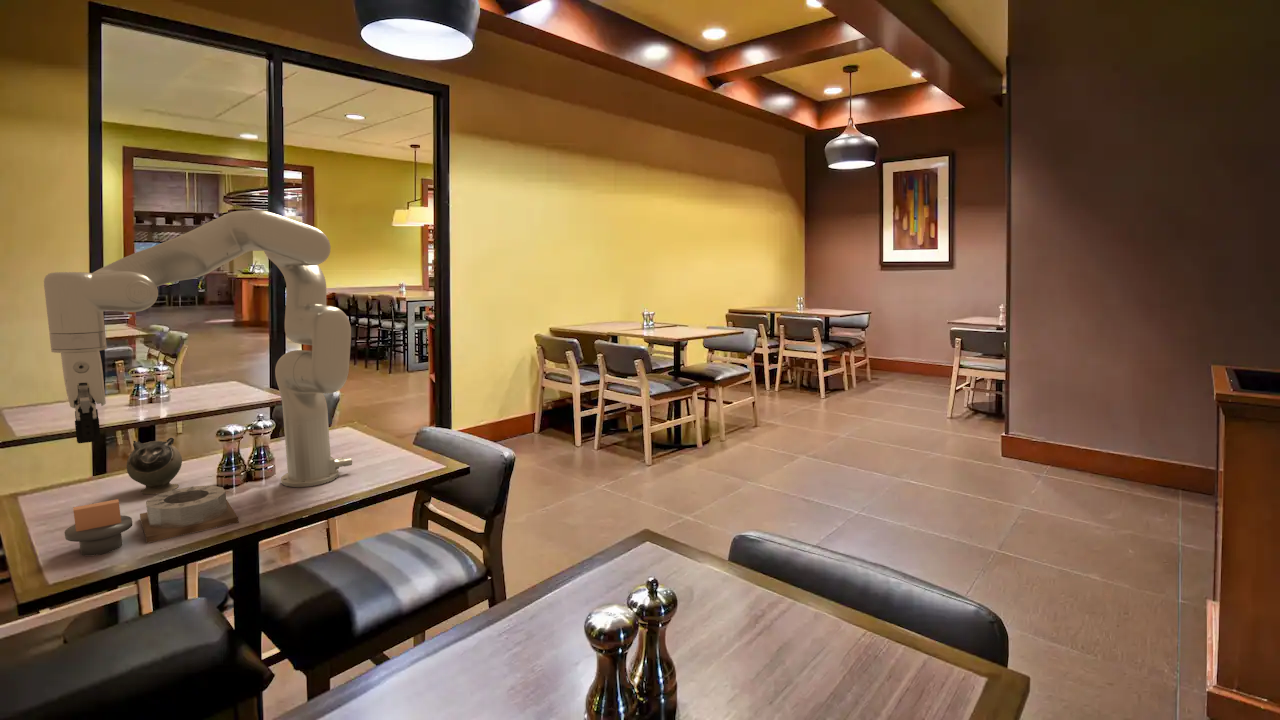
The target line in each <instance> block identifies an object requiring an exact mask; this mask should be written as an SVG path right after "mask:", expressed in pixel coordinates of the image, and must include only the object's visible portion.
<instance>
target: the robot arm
mask: <svg viewBox="0 0 1280 720" xmlns="http://www.w3.org/2000/svg"><path fill="white" fill-rule="evenodd" d="M331 247H332V246H331V242H330V240H329V238H328V236H327V235H326V234H325V233H324V232H323V231H321V230H320V229H319V228H317V227H315V226H312V225H309V224H306V223H303V222H300V221H298V220H294V219H291V218H288V217H286V216H282V215H280V214H277V213H274V212H270V211H267V210H263V209H255V210H253V209H252V210H249V209H248V210H236V211H230V212H228V213H225V214H223V215H221V216H218V217H217V218H215V219H212V220H211V221H208V222H206V223H204V224H203V225H199V226H198V227H196V228H194V229H192V230H190V231H188V232H186V233H184V234H182V235H179V236H177V237H174V238H172V239H169V240H167V241H164V242H161V243H158V244H156V245H153V246H151V247H148V248H145V249H143V250H140V251H136V252H134V253H131V254H130V255H127V256H124V257H122V258H119V259H118V260H116V261H113V262H111V263H109V264H107V265H105V266H102V267H100V268H99V269H97V270H95V271H92V272H84V271H83V272H82V271H79V272H76V271H69V272H68V271H63V272H62V271H60V272H58V271H57V272H56V271H55V272H51V273H48V274H47V275H45V277H44V278H43V279H44V280H43V289H44V297H45V299H44V300H45V305H46V306H45V307H46V315H47V316H46V317H47V324H48V332H49V341H50V349H51V350H50V351H51V353H54V354H56V353H57V354H60V358H61V365H62V367H61V368H62V373H63V381H64V386H65V387H64V388H65V391H66V394H67V400H68V403H69V406H70V408H72V409H74V410H75V411H74V415H75V420H74V427H75V434H76V435H75V436H76V443H77V444H85V443H95V442H100V441H101V438H102V437H101V427H100V418H99V411H98V409H97V405H96V404H98V405H99V404H100V405H101V407H103V406H105V405H106V393H105V392H106V391H105V382H104V371H103V363H102V358H101V353H100V351H104V350H108V349H107V348H108V347H107V339H106V338H107V337H106V327H105V316H104V312H107V311H108V312H109V311H111V312H120V313H121V312H122V313H137V312H142V311H145V310H148V309H149V308H151V307H152V306H153V305H155V303H156V302H157V299H158V296H159V290H158V289H159V288H158V287H160V286H163V285H167V284H170V283H174V282H175V283H176V282H181V281H186V280H193V279H196V278H198V277H202V276H205V275H208V274H209V273H211V272H213V271H215V270H217V269H219V268H220V267H222V266H224V265H226V264H228V263H229V262H231V261H234V260H235V259H238V258H239V257H240V256H243V255H244V254H246V253H248V252H264V254H265V256H266V257H267V258H268V260H269V261H270V262H272V263H273V264H274V265H275V266H276V267H277V268H278V269H279V271H280V272H281V274H282V275H283V277H284V281H285V286H286V290H285V291H286V298H285V299H286V300H285V311H284V312H285V314H284V332H285V335H286V337H287V339H288V340H290V341H291V342H293V343H295V344H298V345H299V344H300V345H305V346H311V350H303V349H298V350H297V349H296V350H290V351H288V352H286V353H284V354H283V355H281V356H280V358H279V359H278V360H277V362H276V364H275V371H274V372H275V374H274V375H275V381H276V383H277V388H278V390H279V394H280V398H281V405H282V407H281V408H282V414H283V416H282V417H283V428H284V429H283V430H284V432H283V433H284V442H285V454H286V465H287V466H286V468H287V473H285V474H283V475H282V476H281V477H280V482H281V484H282V485H284V486H286V487H290V488H304V487H307V488H308V487H313V485H314V486H319V485H323V483H324V484H327V483H330V482H331V481H335V480H336V479H337V478H338V477H339V476H340V472H339V469H340V467H341V468H342V467H349V466H352V465H353V460H352V457H346V458H344V457H338V458H334V457H332V456H331V443H330V442H331V440H330V429H329V427H330V426H329V414H328V413H329V412H328V404H327V400H326V397H325V394H327V395H328V394H335V393H337V392H338V391H340V390H342V388H343V387H344V385H345V384H346V382H347V380H348V375H349V370H350V360H351V359H350V358H351V342H352V326H351V324H350V320H349V317H348V316H347V314H346V313H345V312H344V311H343V310H342V309H340V308H339V307H336V306H333V305H327V281H326V278H325V275H324V273H323V270H322V269H321V267H320V266H319V265H320V264H323V263H324V262H326V260H327V259H329V256H330V254H331ZM335 478H336V479H335ZM329 481H330V482H329ZM326 482H327V483H326Z"/></svg>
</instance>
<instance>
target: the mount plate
mask: <svg viewBox="0 0 1280 720" xmlns="http://www.w3.org/2000/svg"><path fill="white" fill-rule="evenodd" d="M226 501H227V511H226V512H224V513H223V514H222V515H221V516H220V517H217V518H215V519H212V520H209V521H207V522H204V523H200V524H196V525H191V526H186V527H180V528H165V529H162V528H156V527H151V526H150V525H149V521H148V515H147V511H146V512H143V513H139V520H140V522H141V526H142V530H143V533H144V538H145V542H146V544H148V543H153V542H157V541H162V540H166V539H171V538H175V537H179V536H180V537H181V536H184V535H189V534H194V533H197V532H202V531H207V530H211V529H215V528H216V527H217V528H221V527H225V526H229V525H234V524H239V516H238V514H237V513H236V511H235V510H234V508H233V507H232V506H231V504H230V503H229V500H228V499H227V498H226ZM217 528H216V529H217Z"/></svg>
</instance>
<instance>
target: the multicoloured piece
mask: <svg viewBox="0 0 1280 720" xmlns="http://www.w3.org/2000/svg"><path fill="white" fill-rule="evenodd" d="M120 508H121V507H120V500H119V498H118V499H117V498H116V499H111V500H106V501H101V502H96V503H91V504H90V503H89V504H85V505H79V506H73V511H72V512H73V517H74V524H73V525H71V526H69V527H68V528H66V529H65V530H64V538H65V540H66V541H69V542H79V543H78V544H79V549H80V555H82V556H85V555H94V556H99V555H104V554H107V553H111V552H114V551H116V550H118V549H120V548H121V547H122V546H123V544H124V543H123V539H122V538H123V537H122V533H125V532H126V531H127V530H129V529H131V528H132V526H133V518H132V517H130V516H127V515H121V509H120Z"/></svg>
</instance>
